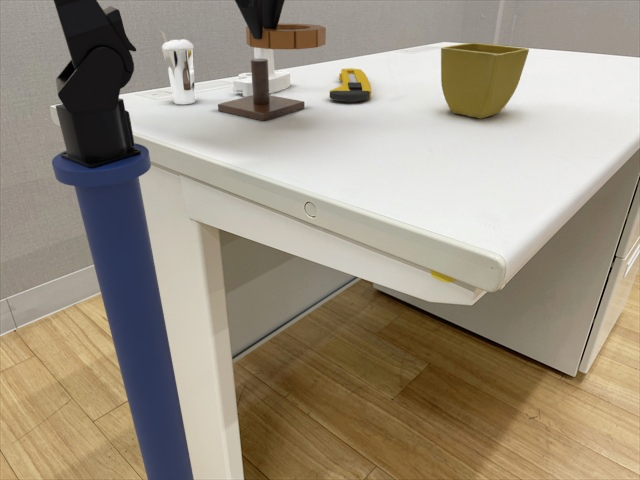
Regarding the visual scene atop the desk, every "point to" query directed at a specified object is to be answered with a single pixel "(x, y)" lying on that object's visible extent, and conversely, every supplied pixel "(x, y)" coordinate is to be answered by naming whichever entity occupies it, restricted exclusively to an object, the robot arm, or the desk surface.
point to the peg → (260, 98)
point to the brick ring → (289, 37)
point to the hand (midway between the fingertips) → (264, 38)
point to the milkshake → (180, 69)
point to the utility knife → (352, 86)
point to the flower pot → (480, 77)
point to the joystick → (276, 78)
